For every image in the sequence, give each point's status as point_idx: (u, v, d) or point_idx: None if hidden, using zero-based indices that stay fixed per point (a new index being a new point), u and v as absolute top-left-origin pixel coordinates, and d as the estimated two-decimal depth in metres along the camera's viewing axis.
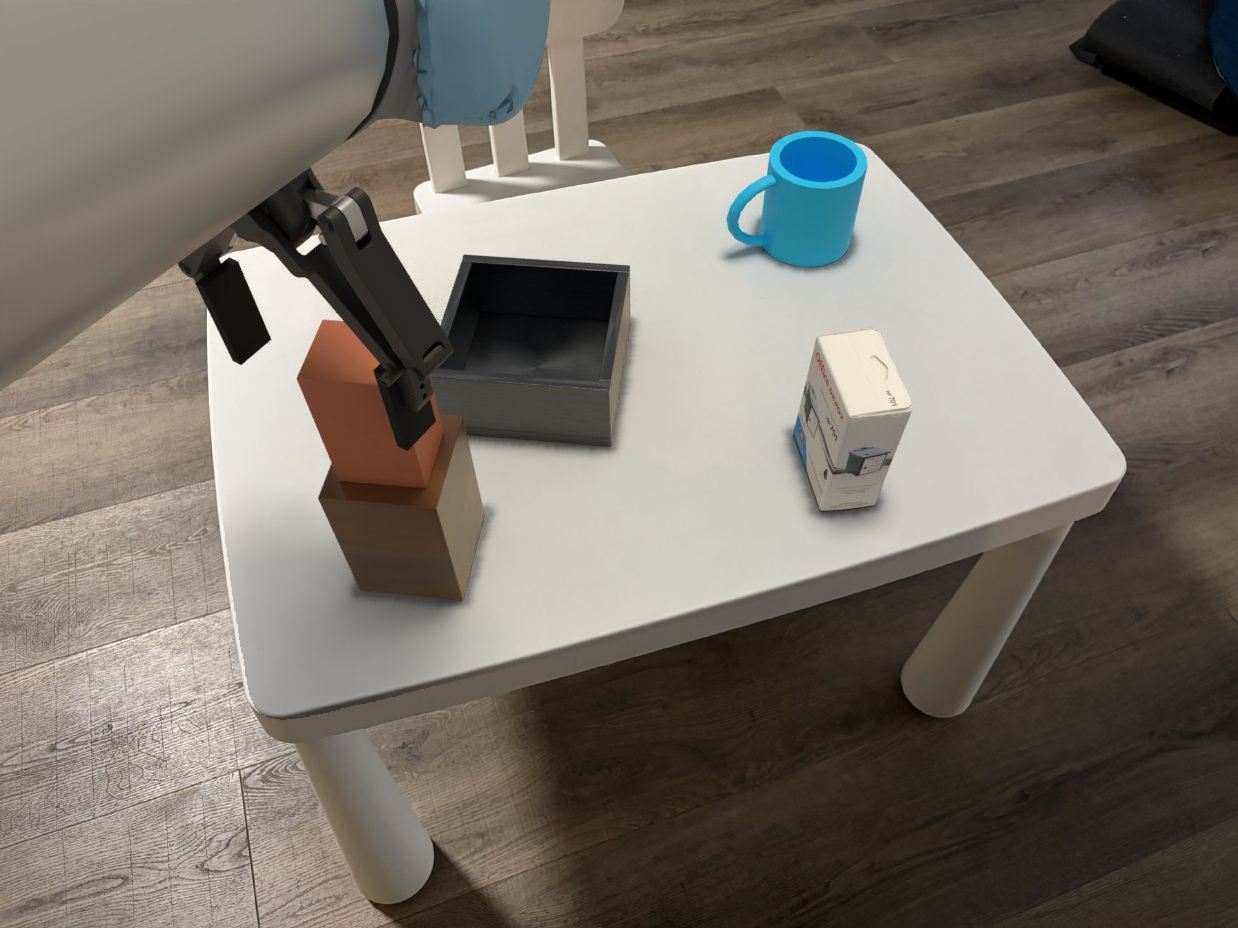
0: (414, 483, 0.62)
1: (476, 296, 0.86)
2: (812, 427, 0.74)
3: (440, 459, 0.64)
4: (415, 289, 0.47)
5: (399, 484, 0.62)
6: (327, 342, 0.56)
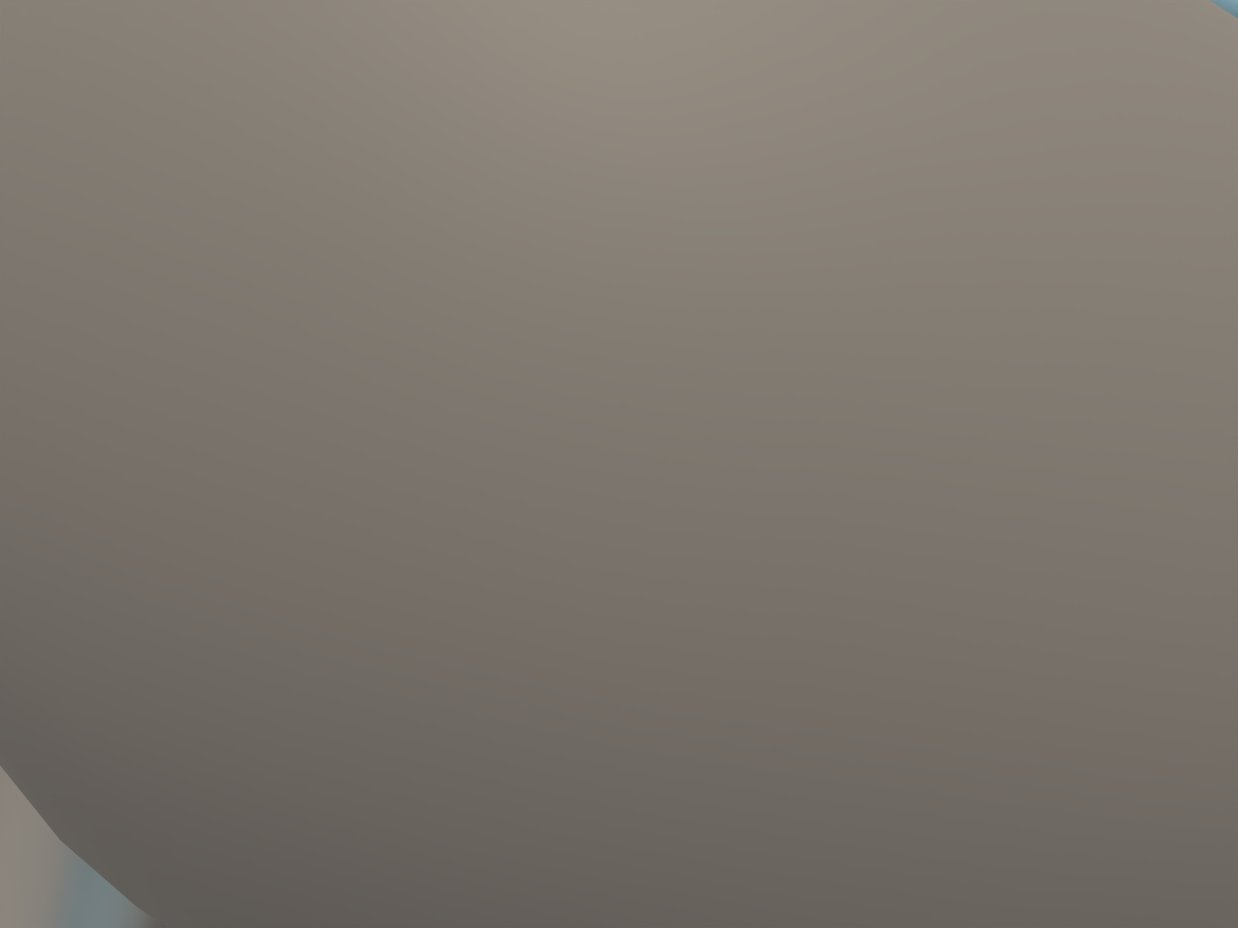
0: None
1: None
2: None
3: None
4: None
5: None
6: None
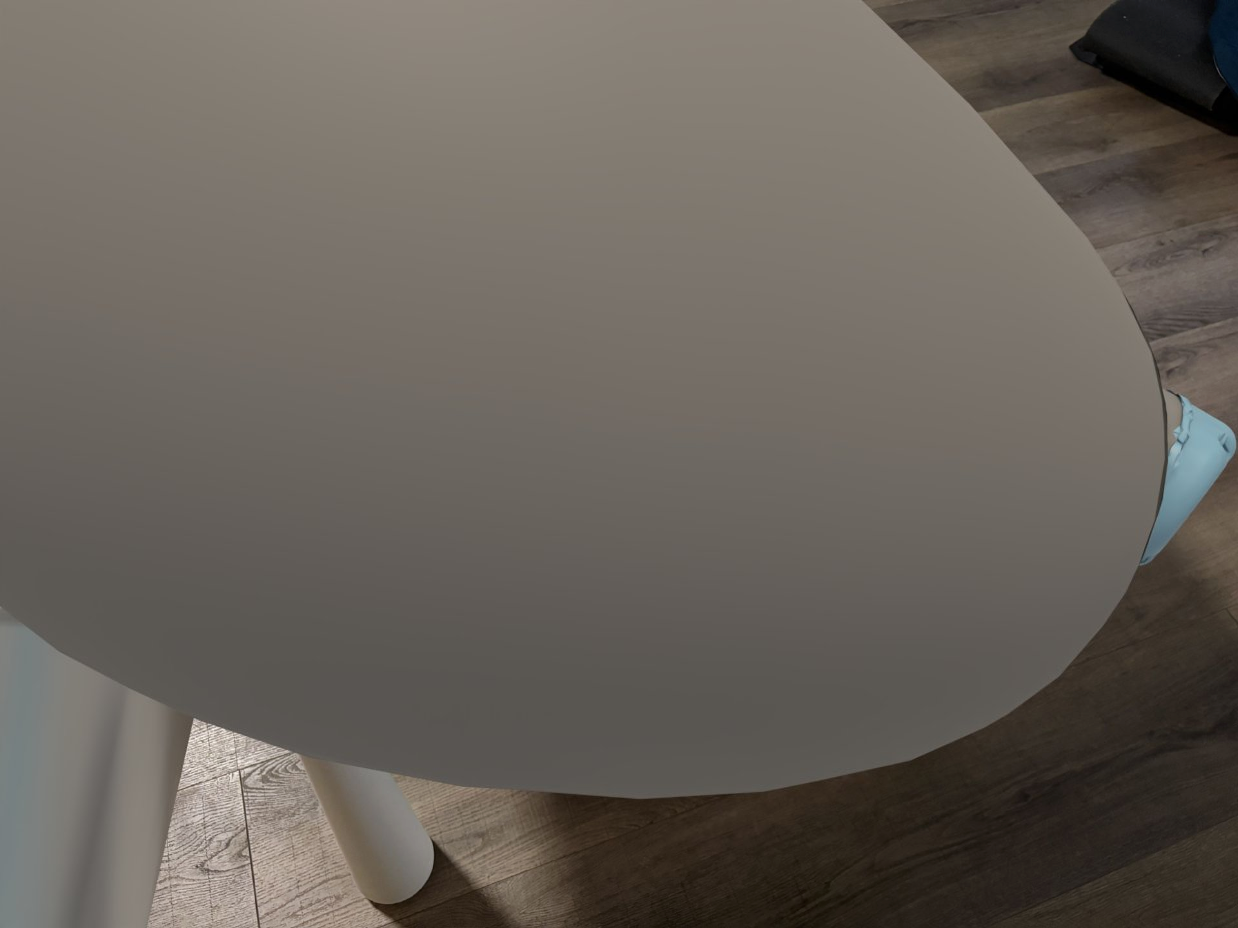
0: None
1: None
2: None
3: None
4: None
5: None
6: None
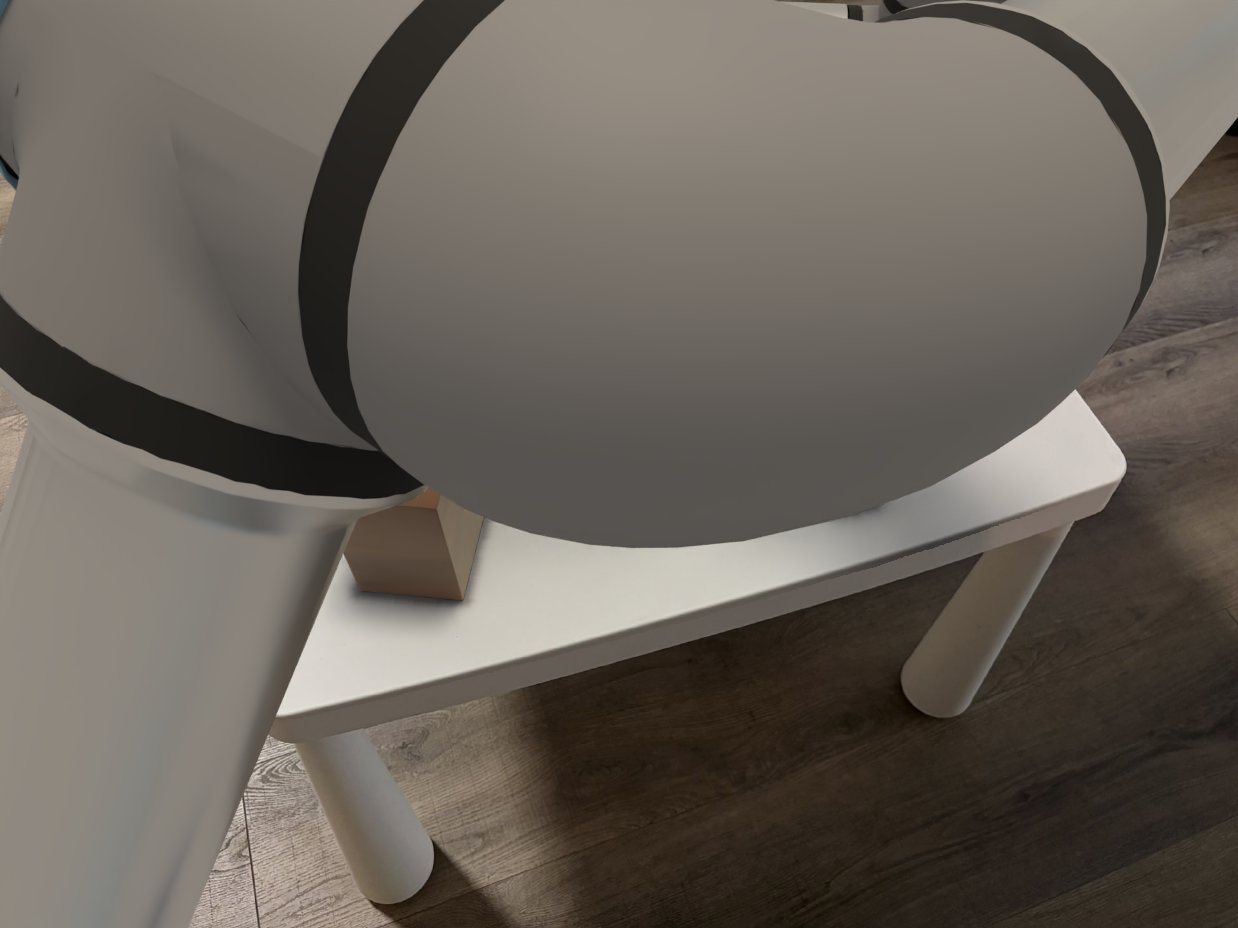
0: None
1: None
2: None
3: None
4: None
5: None
6: None
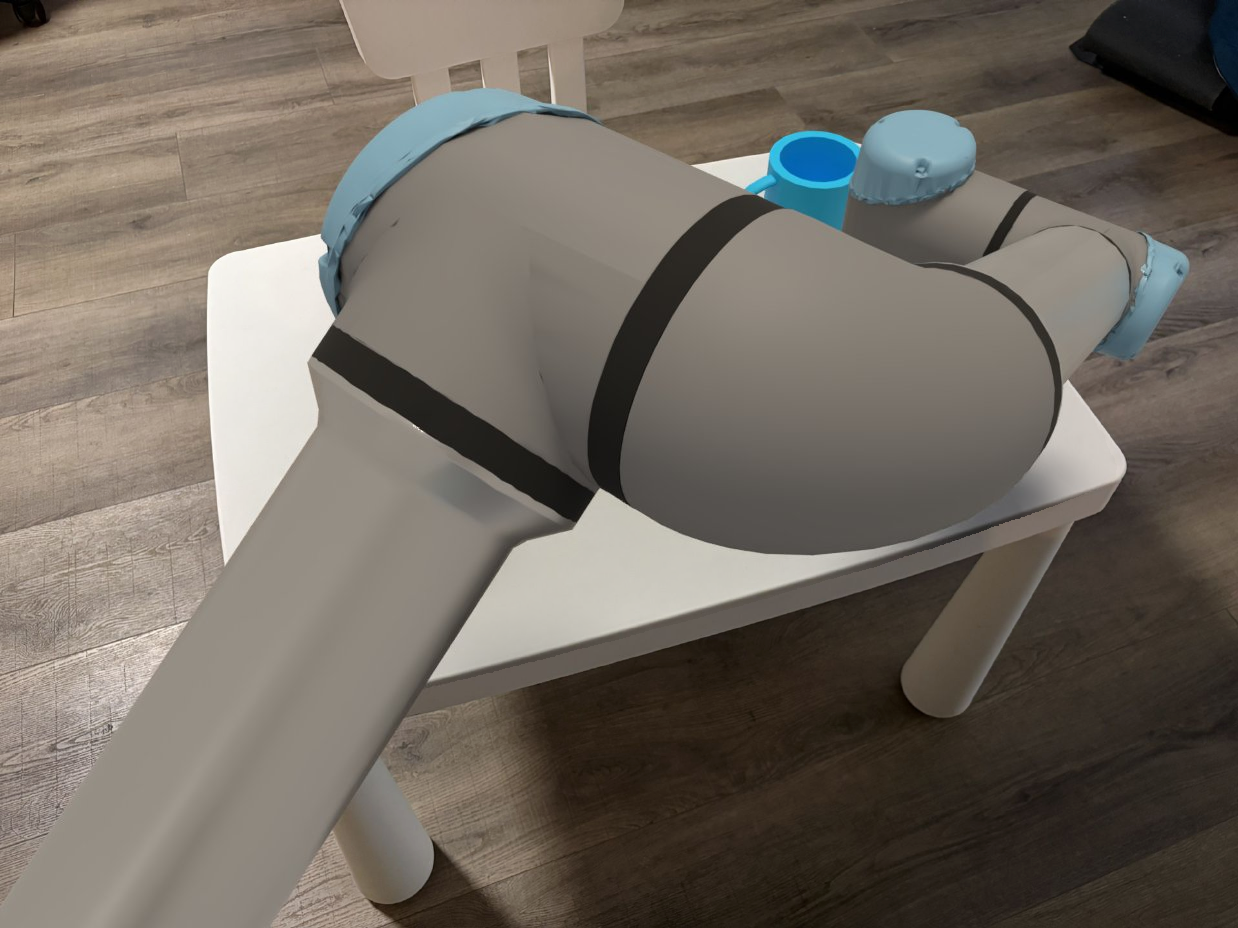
0: None
1: None
2: None
3: None
4: None
5: None
6: None
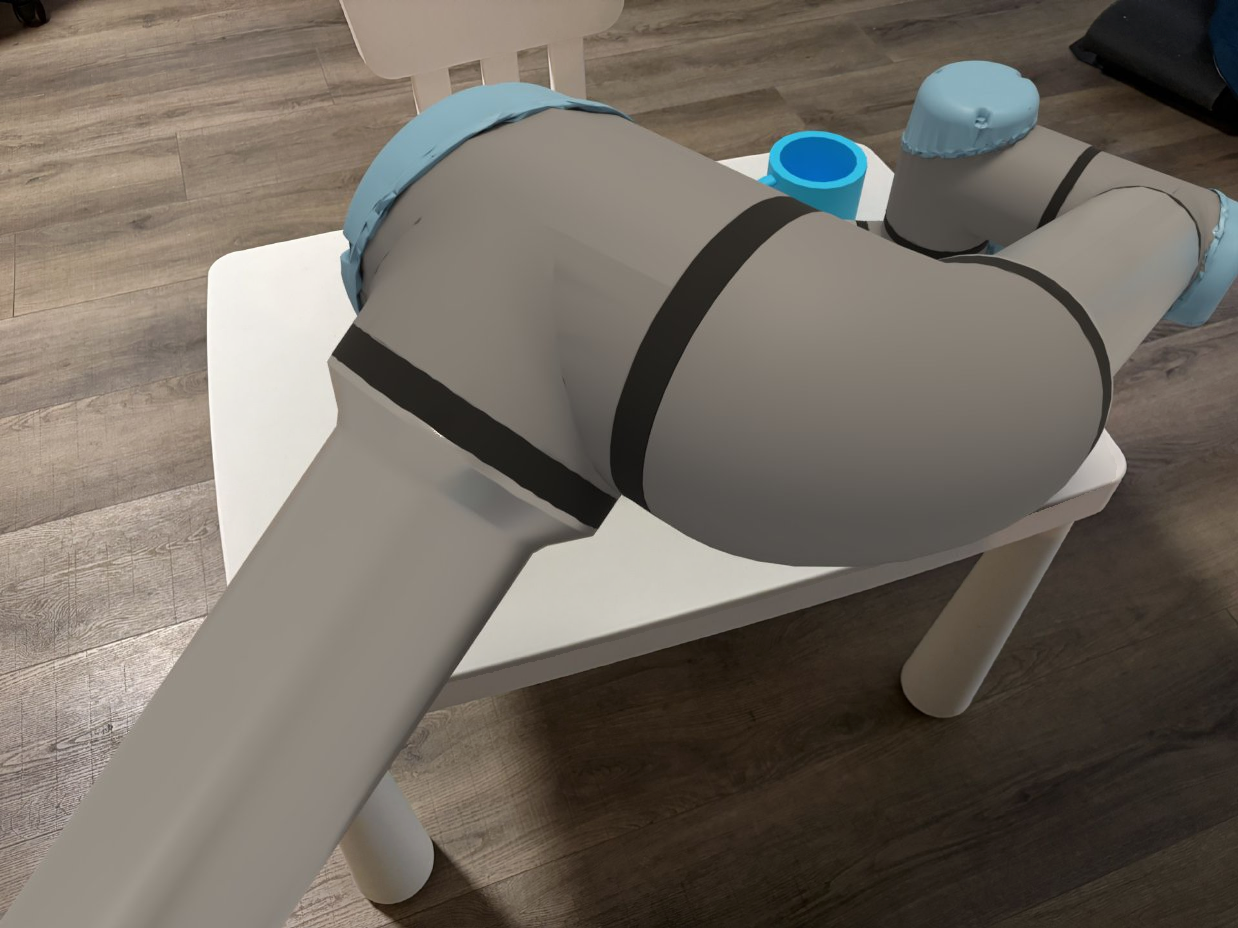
0: None
1: None
2: None
3: None
4: None
5: None
6: None
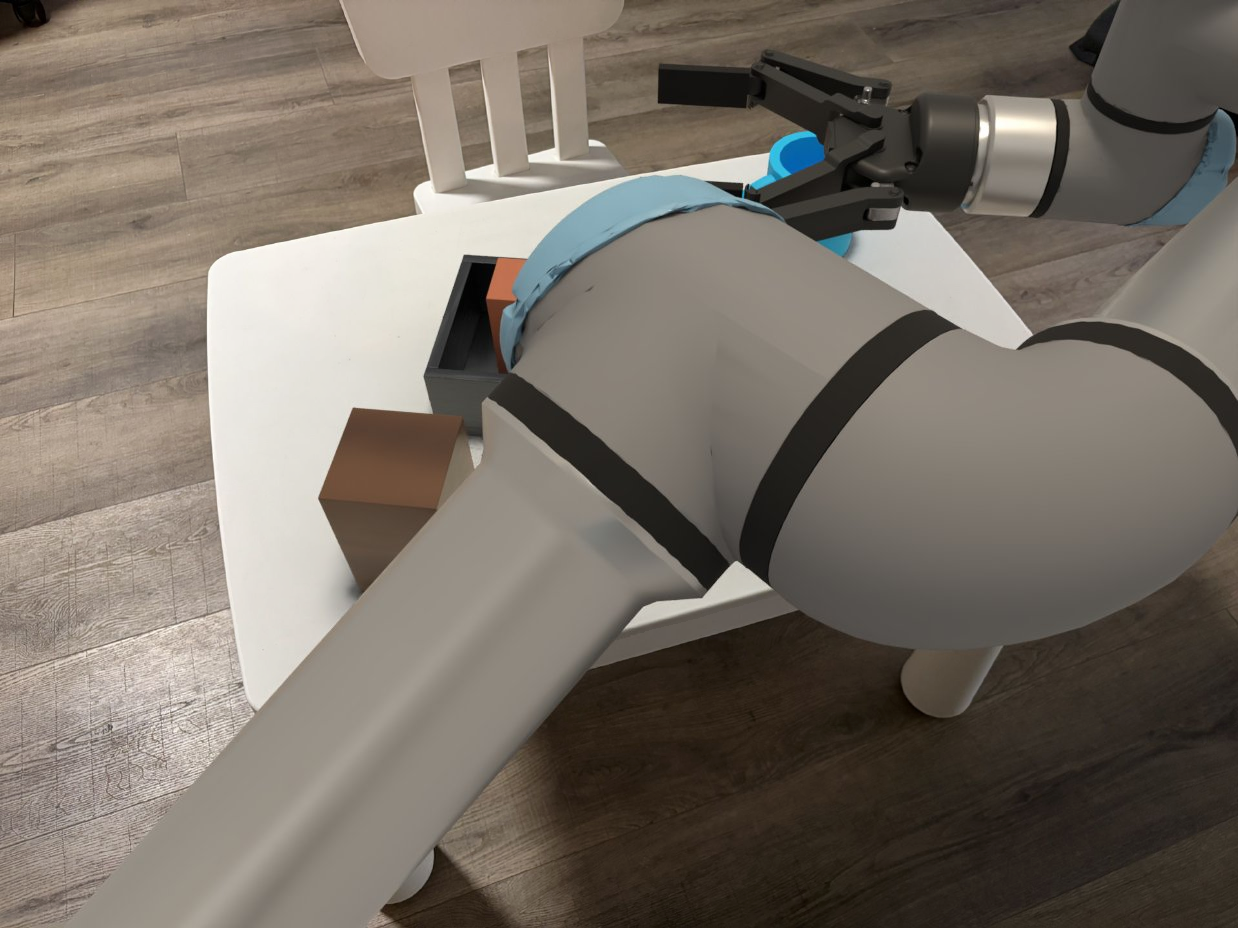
0: None
1: (476, 296, 0.86)
2: None
3: (440, 459, 0.64)
4: (814, 240, 0.59)
5: None
6: (504, 274, 0.77)
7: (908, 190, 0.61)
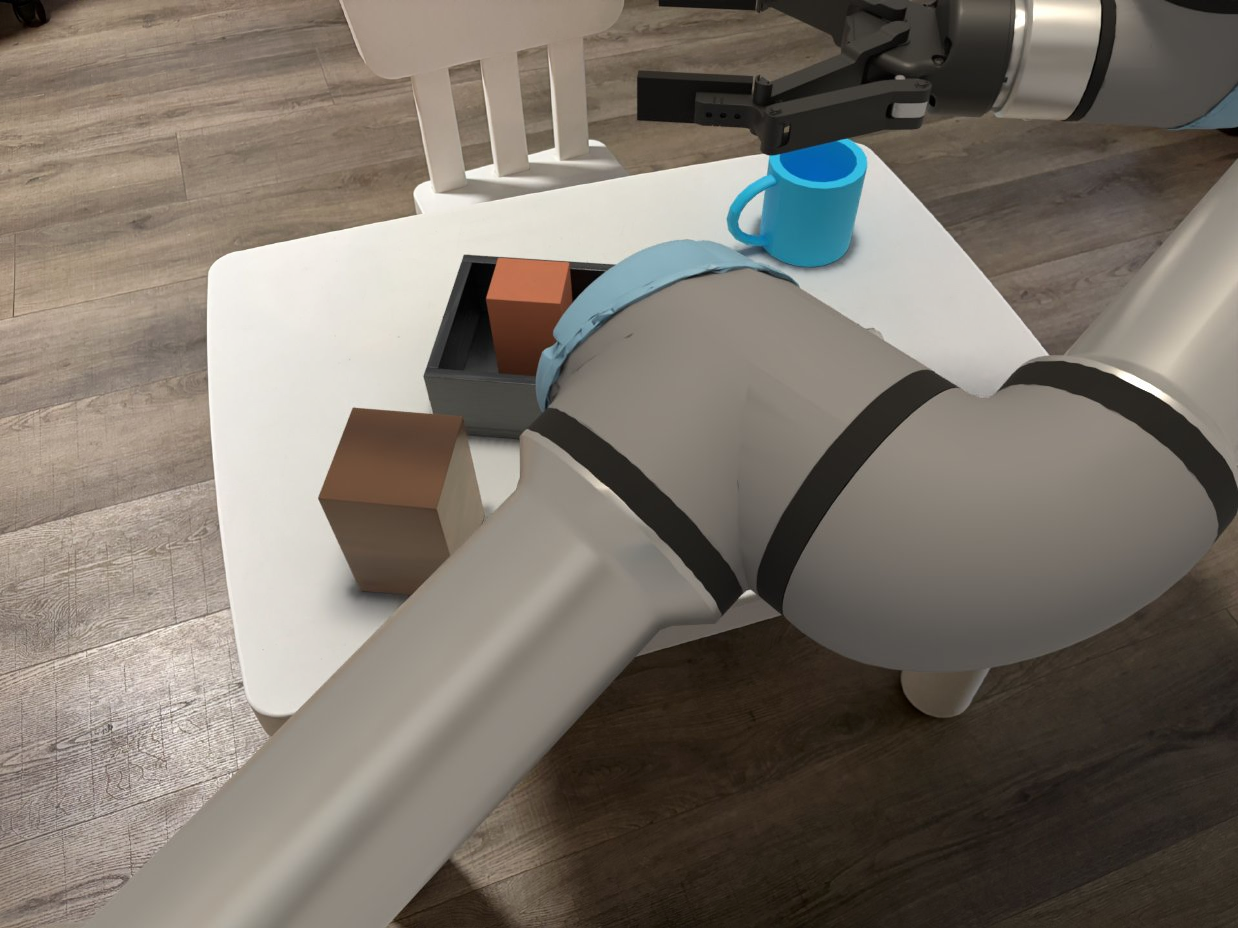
0: None
1: (476, 296, 0.86)
2: None
3: (440, 459, 0.64)
4: (832, 140, 0.53)
5: None
6: (504, 274, 0.77)
7: (935, 87, 0.55)
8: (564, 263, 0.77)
